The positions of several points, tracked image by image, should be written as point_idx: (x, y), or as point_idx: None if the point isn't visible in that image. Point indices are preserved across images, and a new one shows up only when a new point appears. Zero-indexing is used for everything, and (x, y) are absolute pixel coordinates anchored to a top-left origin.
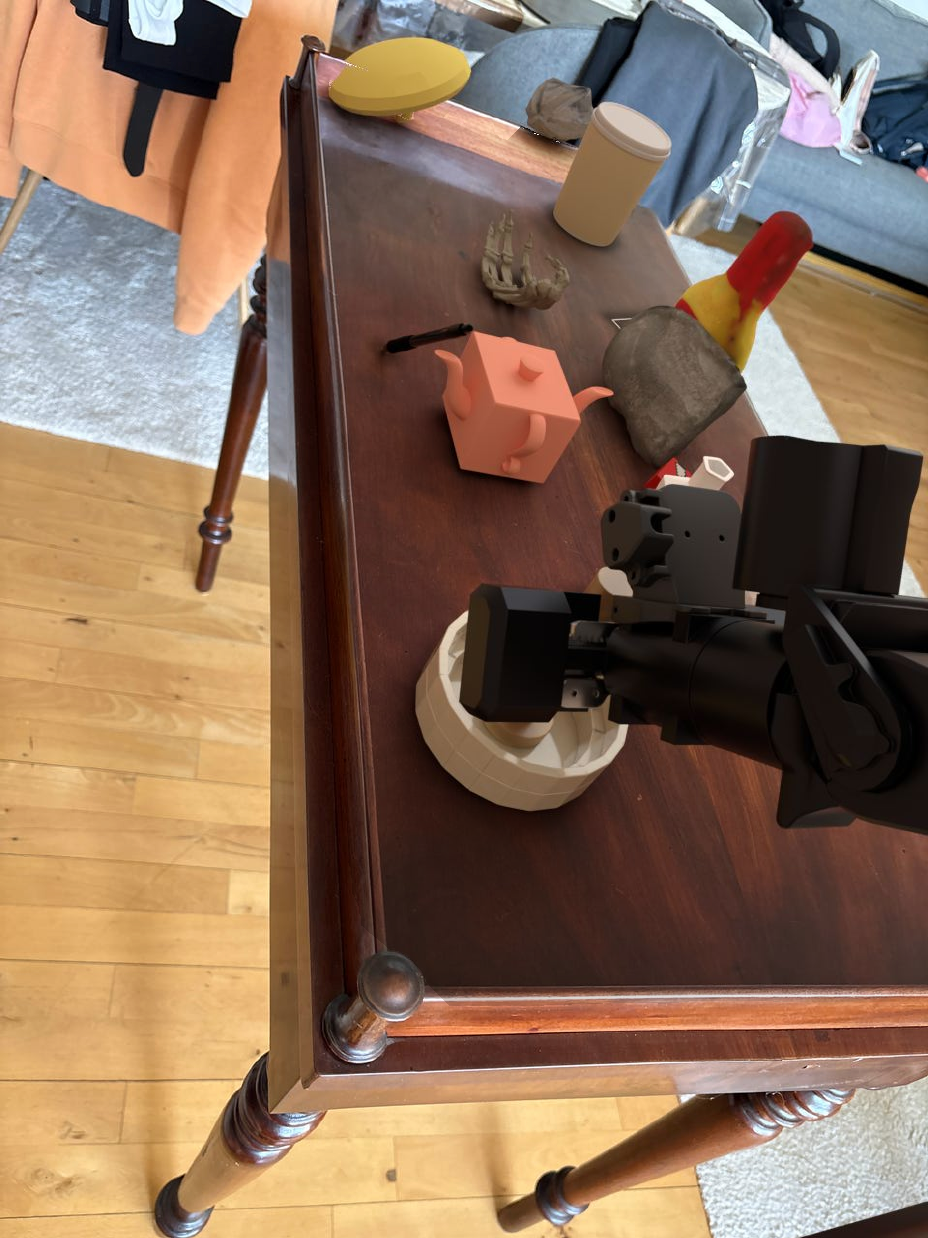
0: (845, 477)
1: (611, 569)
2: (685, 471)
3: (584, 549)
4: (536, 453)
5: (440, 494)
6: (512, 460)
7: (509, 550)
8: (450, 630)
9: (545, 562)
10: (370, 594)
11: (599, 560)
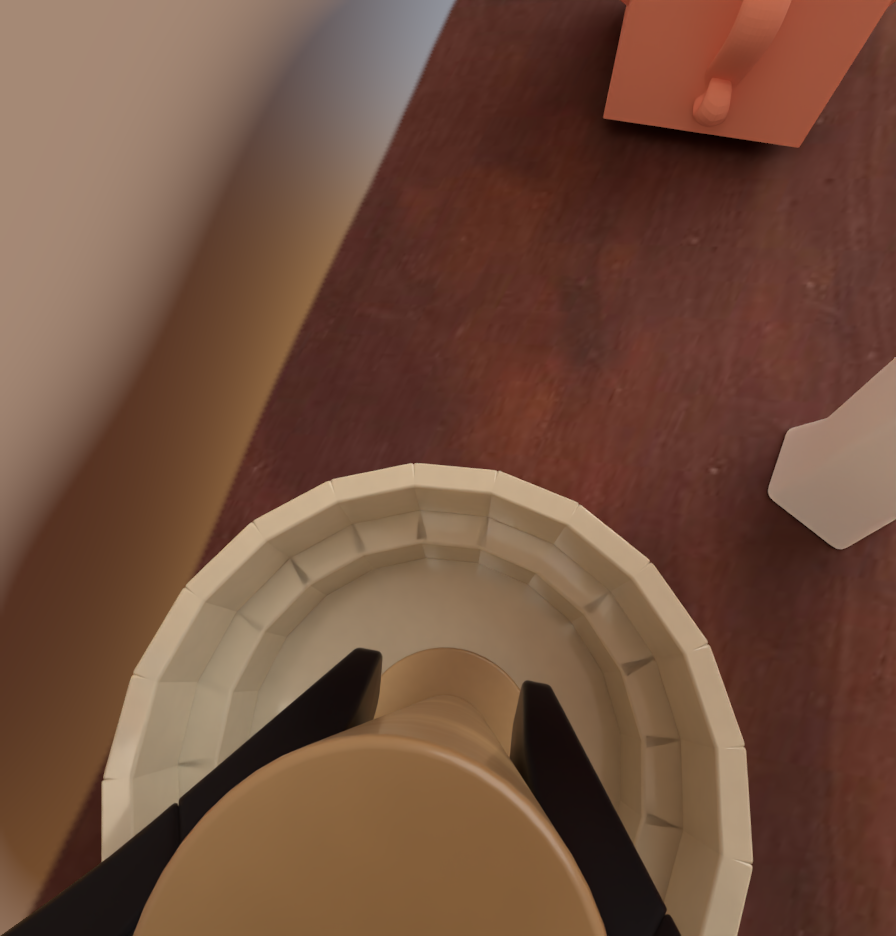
0: None
1: (413, 786)
2: None
3: (855, 304)
4: (781, 64)
5: (544, 174)
6: (711, 86)
7: (651, 298)
8: (246, 536)
9: (733, 330)
10: (285, 376)
11: (888, 333)
